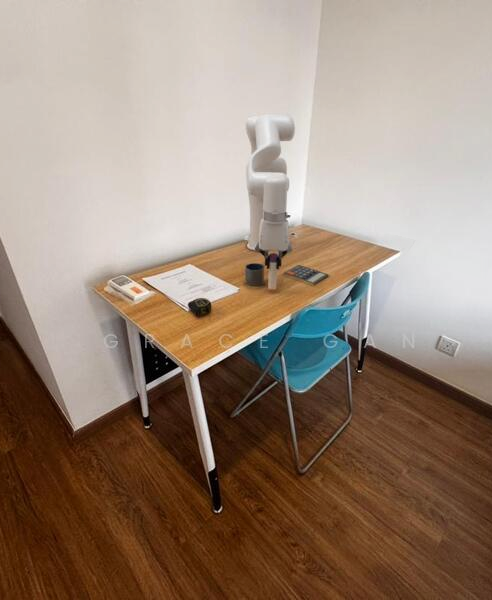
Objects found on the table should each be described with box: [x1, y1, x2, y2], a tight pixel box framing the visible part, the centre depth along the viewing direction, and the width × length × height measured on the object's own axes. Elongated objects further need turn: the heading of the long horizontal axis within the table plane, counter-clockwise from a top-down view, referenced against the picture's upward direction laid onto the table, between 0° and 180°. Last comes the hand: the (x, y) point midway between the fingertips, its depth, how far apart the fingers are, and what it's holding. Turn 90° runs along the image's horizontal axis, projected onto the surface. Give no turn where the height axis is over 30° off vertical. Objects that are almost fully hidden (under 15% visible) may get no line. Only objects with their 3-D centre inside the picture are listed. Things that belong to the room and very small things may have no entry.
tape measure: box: [187, 297, 212, 317], centre depth 107 cm, size 7×7×4 cm
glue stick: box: [267, 252, 279, 290], centre depth 116 cm, size 3×3×13 cm
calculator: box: [283, 264, 329, 286], centre depth 135 cm, size 12×1×15 cm
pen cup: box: [244, 262, 265, 288], centre depth 125 cm, size 7×7×8 cm
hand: (273, 267), depth 115 cm, fingers closed on glue stick, 3 cm apart
